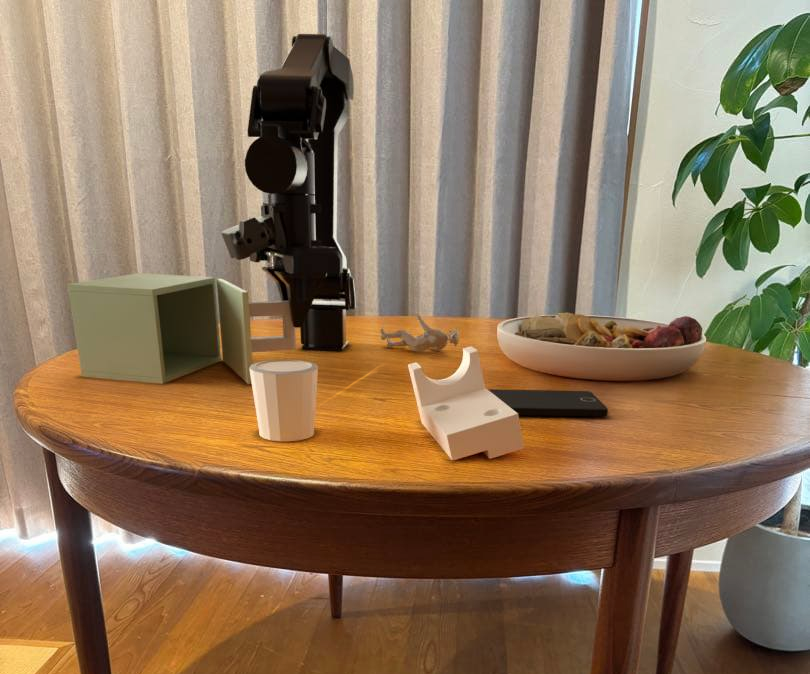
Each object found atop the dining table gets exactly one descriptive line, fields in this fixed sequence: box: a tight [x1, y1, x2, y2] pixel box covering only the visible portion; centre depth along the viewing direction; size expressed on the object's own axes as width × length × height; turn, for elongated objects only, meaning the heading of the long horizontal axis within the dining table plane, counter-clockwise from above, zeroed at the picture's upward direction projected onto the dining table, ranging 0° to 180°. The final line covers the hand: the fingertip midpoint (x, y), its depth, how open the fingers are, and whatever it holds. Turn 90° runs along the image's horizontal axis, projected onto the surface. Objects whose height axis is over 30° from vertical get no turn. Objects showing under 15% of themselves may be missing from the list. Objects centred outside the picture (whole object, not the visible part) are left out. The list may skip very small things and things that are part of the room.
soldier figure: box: [380, 313, 460, 353], centre depth 120 cm, size 8×5×12 cm
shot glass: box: [249, 359, 319, 442], centre depth 77 cm, size 7×7×7 cm
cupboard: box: [67, 272, 222, 385], centre depth 103 cm, size 12×16×12 cm
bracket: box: [407, 345, 525, 461], centre depth 77 cm, size 13×7×8 cm, turn 12°
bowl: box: [496, 311, 707, 382], centre depth 113 cm, size 30×30×8 cm
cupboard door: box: [216, 278, 297, 385], centre depth 103 cm, size 7×16×11 cm, turn 24°
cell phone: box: [487, 388, 609, 418], centre depth 90 cm, size 9×18×1 cm, turn 91°
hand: (295, 326), depth 99 cm, fingers closed on cupboard door, 2 cm apart
